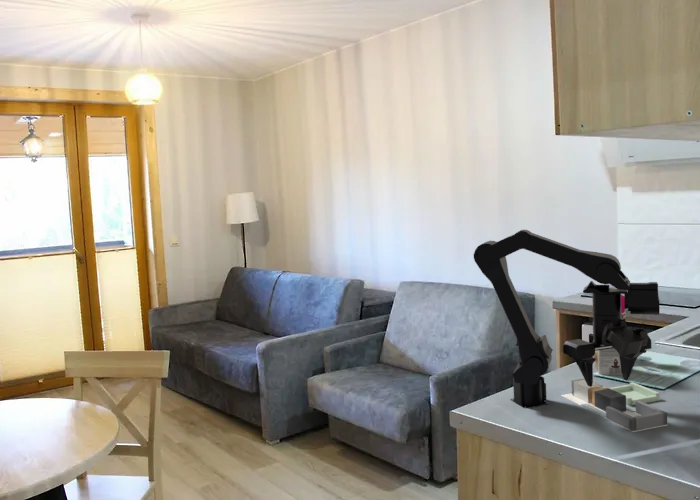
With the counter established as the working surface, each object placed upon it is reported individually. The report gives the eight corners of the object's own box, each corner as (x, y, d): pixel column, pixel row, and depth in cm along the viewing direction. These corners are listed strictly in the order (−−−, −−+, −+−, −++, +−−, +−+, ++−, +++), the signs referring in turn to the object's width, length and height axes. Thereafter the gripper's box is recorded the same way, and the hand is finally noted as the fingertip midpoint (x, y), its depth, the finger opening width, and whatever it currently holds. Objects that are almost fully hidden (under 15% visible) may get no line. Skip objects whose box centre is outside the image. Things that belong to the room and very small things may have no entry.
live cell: (610, 414, 135) (610, 398, 135) (592, 405, 141) (592, 390, 140) (626, 411, 136) (625, 395, 136) (607, 402, 142) (607, 387, 142)
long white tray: (632, 434, 125) (632, 419, 125) (560, 397, 148) (560, 384, 148) (668, 427, 128) (668, 412, 127) (592, 392, 151) (591, 379, 150)
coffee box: (592, 366, 171) (591, 308, 169) (617, 366, 169) (616, 307, 168) (599, 376, 162) (597, 315, 160) (625, 377, 160) (624, 315, 159)
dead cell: (588, 403, 142) (587, 388, 142) (571, 395, 148) (571, 380, 148) (603, 400, 143) (602, 385, 143) (586, 392, 149) (586, 378, 149)
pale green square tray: (627, 408, 139) (627, 399, 139) (601, 395, 148) (601, 387, 148) (661, 402, 142) (661, 393, 141) (633, 390, 150) (633, 381, 150)
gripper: (594, 325, 126) (595, 401, 128) (670, 315, 131) (671, 387, 133) (560, 315, 137) (562, 385, 138) (632, 306, 142) (633, 373, 143)
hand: (607, 383), depth 138 cm, fingers open, 9 cm apart
